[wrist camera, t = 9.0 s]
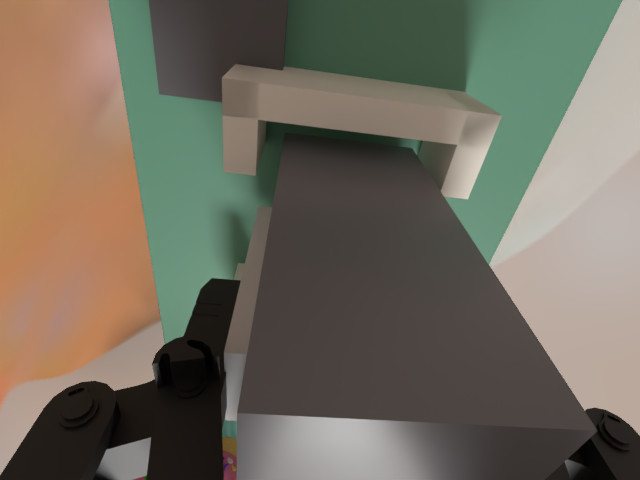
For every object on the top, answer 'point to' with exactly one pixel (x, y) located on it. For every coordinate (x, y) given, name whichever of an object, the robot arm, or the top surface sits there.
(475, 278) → the block
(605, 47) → the top surface
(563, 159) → the top surface
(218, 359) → the robot arm
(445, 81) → the board
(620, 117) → the top surface
